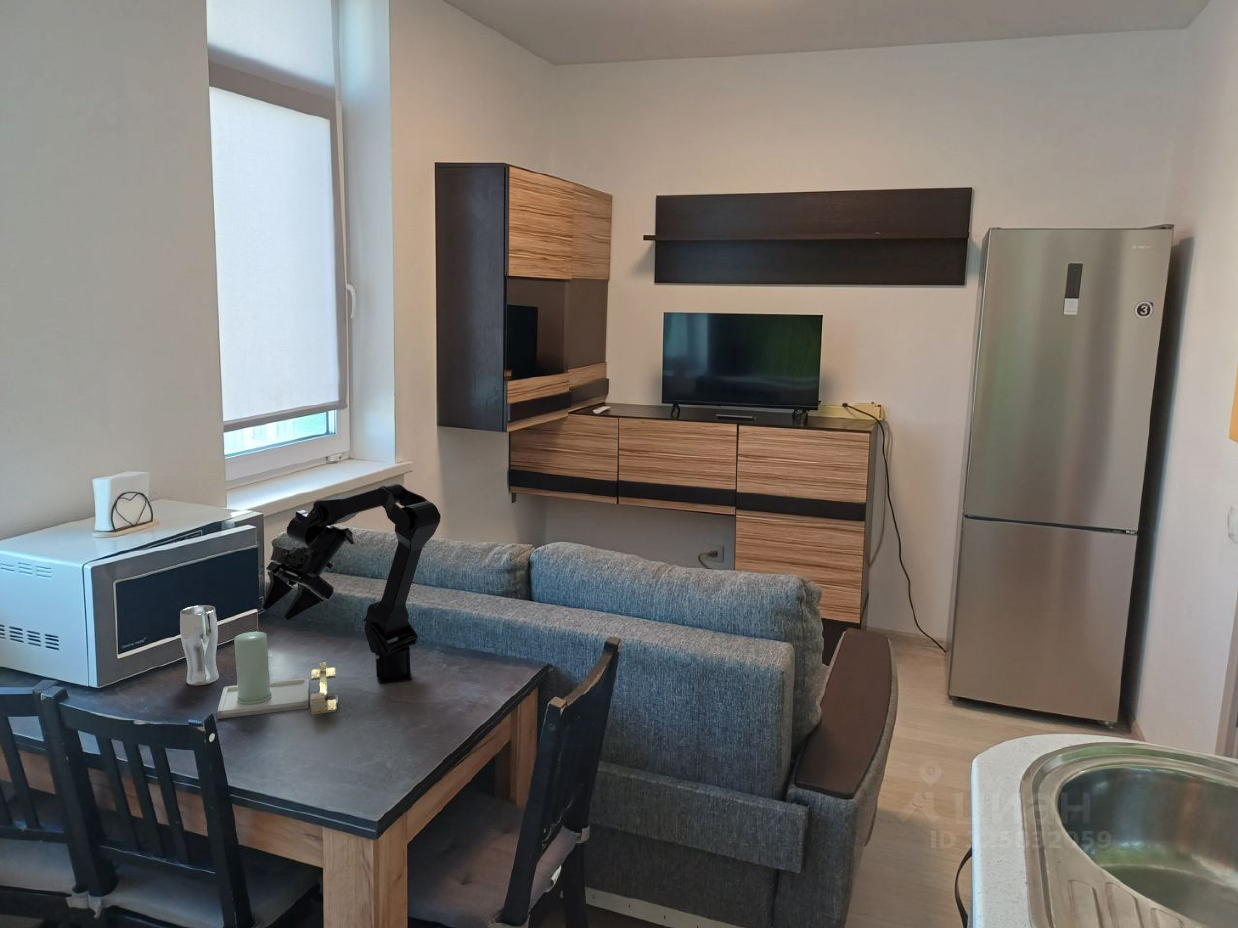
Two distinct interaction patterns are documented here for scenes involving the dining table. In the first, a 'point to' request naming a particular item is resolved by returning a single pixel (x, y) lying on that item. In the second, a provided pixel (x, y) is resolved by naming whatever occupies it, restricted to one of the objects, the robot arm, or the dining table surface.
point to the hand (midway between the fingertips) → (274, 613)
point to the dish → (282, 699)
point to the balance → (323, 691)
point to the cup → (252, 668)
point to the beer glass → (200, 643)
